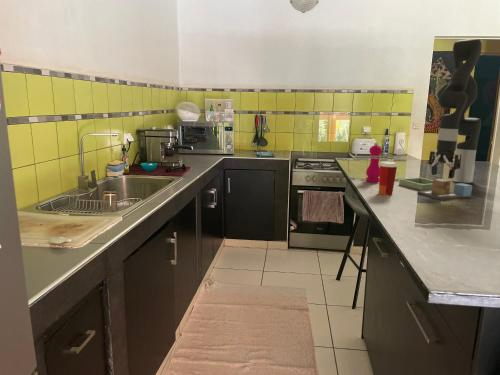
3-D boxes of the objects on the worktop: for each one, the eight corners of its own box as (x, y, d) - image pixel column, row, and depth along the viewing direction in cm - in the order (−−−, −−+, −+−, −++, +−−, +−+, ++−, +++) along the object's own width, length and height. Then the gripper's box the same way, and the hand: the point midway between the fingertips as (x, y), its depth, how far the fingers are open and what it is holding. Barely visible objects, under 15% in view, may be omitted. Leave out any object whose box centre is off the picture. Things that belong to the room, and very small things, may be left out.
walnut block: (439, 191, 175) (441, 178, 174) (448, 194, 170) (450, 180, 169) (431, 192, 173) (433, 179, 171) (440, 195, 168) (442, 181, 167)
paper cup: (394, 192, 175) (397, 162, 172) (394, 196, 168) (398, 164, 165) (376, 191, 177) (379, 160, 174) (375, 194, 170) (378, 163, 167)
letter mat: (437, 191, 180) (438, 189, 180) (463, 198, 169) (463, 195, 168) (417, 193, 175) (417, 191, 175) (441, 200, 163) (442, 198, 163)
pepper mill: (380, 183, 195) (384, 143, 191) (365, 182, 197) (369, 142, 192) (379, 180, 202) (383, 142, 198) (364, 179, 204) (368, 141, 199)
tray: (419, 183, 198) (420, 177, 197) (443, 189, 186) (443, 183, 185) (398, 184, 192) (399, 179, 192) (421, 191, 180) (422, 184, 179)
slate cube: (460, 193, 177) (462, 183, 176) (470, 196, 173) (472, 185, 172) (453, 194, 175) (454, 183, 174) (463, 197, 171) (464, 186, 170)
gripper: (468, 141, 162) (462, 179, 165) (439, 137, 174) (434, 173, 178) (455, 141, 159) (450, 180, 162) (427, 137, 171) (422, 174, 175)
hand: (442, 176), depth 170 cm, fingers open, 8 cm apart
